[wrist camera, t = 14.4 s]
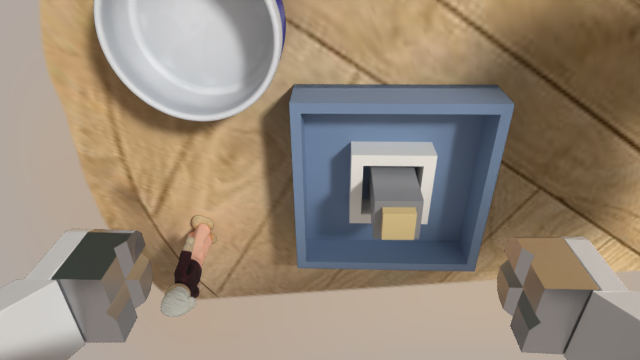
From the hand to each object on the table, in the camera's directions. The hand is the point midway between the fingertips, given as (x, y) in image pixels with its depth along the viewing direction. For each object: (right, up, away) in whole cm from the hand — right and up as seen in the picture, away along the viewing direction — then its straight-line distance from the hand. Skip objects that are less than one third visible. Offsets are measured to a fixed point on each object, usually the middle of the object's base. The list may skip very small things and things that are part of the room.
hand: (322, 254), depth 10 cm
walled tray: (+7, +3, +38) cm, 39 cm away
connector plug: (+7, +2, +37) cm, 38 cm away
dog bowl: (-11, +17, +31) cm, 37 cm away
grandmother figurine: (-14, -5, +44) cm, 47 cm away
